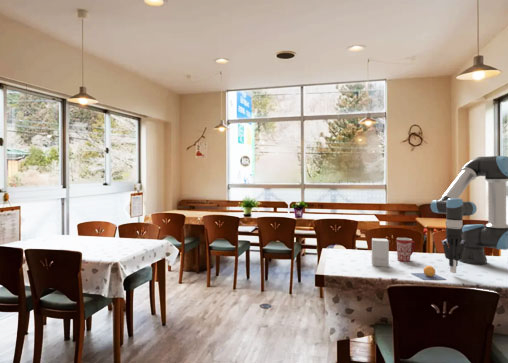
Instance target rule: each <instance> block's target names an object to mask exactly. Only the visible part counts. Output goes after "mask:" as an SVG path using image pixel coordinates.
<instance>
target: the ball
mask: <svg viewBox="0 0 508 363" xmlns="http://www.w3.org/2000/svg"><path fill="white" fill-rule="evenodd" d="M423 273H424V274H425V275H426V276H428V277H432V276H434V275H435V274H436V269H435V268H434V267H433V266H431V265H426V266H425V267H424V268H423Z"/></svg>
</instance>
